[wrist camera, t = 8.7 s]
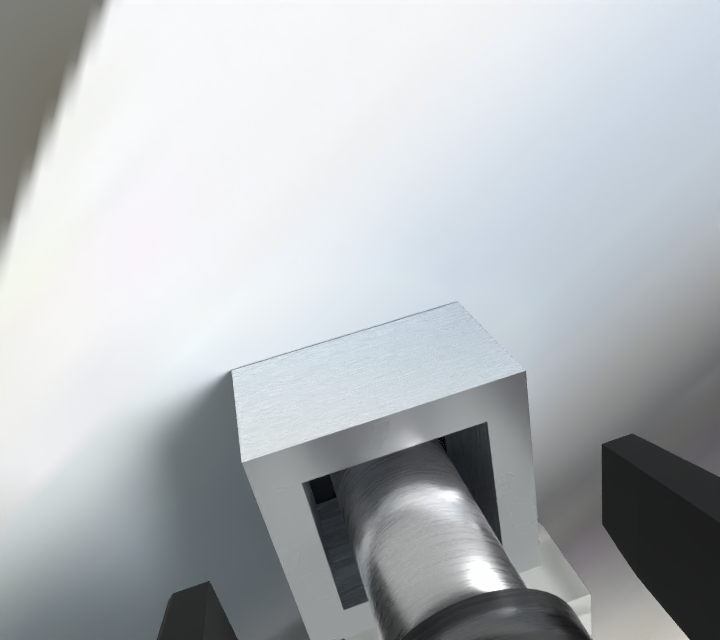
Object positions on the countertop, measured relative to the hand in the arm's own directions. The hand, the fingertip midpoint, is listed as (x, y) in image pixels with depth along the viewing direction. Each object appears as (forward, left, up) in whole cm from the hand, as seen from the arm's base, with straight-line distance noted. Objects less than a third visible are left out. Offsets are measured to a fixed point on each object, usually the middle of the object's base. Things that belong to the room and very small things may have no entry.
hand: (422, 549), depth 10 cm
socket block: (0, 0, -4) cm, 4 cm away
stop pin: (0, 0, -4) cm, 4 cm away
